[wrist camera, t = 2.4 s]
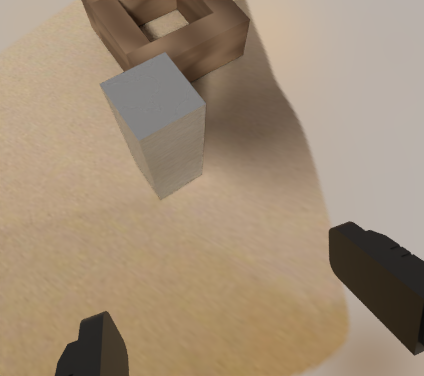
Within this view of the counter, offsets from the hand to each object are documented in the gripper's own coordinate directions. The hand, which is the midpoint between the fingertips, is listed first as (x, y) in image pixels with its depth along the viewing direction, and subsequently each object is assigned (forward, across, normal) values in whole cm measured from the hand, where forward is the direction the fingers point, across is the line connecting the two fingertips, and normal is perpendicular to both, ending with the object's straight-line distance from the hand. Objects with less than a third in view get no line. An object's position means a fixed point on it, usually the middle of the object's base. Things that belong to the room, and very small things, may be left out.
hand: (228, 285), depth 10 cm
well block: (+29, -4, -8) cm, 30 cm away
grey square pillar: (+19, 0, +2) cm, 19 cm away
